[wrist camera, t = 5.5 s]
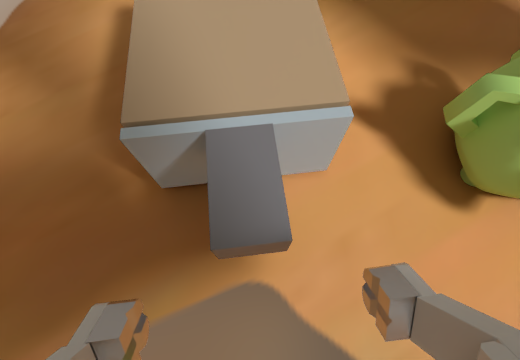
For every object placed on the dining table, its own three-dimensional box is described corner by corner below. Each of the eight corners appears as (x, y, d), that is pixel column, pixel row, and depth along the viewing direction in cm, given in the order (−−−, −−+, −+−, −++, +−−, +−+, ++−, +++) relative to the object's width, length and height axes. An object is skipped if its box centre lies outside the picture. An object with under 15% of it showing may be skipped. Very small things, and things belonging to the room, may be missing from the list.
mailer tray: (346, 252, 20) (391, 228, 13) (159, 276, 20) (104, 263, 13) (291, 28, 30) (300, -51, 24) (166, 38, 30) (138, -40, 23)
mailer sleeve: (322, 161, 24) (349, 100, 17) (164, 178, 23) (120, 122, 16) (289, 26, 31) (298, -57, 24) (168, 36, 31) (139, -47, 23)
